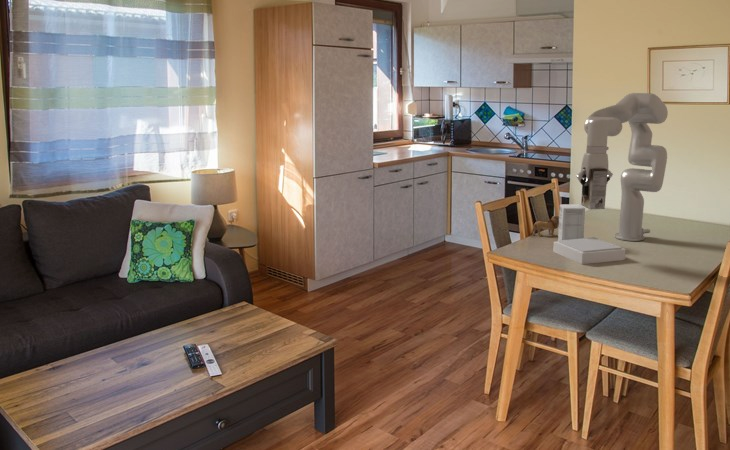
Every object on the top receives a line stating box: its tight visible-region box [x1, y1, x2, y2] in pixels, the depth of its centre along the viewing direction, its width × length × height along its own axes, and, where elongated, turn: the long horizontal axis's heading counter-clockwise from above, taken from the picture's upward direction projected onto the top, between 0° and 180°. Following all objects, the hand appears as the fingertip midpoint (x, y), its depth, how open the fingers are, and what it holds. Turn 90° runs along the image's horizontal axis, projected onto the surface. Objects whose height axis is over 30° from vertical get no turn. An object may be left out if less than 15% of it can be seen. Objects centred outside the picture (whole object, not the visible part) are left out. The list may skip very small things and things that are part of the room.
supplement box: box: [557, 203, 586, 241], centre depth 290 cm, size 10×9×17 cm
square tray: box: [552, 236, 626, 265], centre depth 271 cm, size 20×20×5 cm
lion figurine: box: [529, 215, 559, 237], centre depth 307 cm, size 15×5×9 cm, turn 104°
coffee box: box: [580, 168, 609, 210], centre depth 265 cm, size 9×6×16 cm
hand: (593, 194), depth 266 cm, fingers closed on coffee box, 7 cm apart
